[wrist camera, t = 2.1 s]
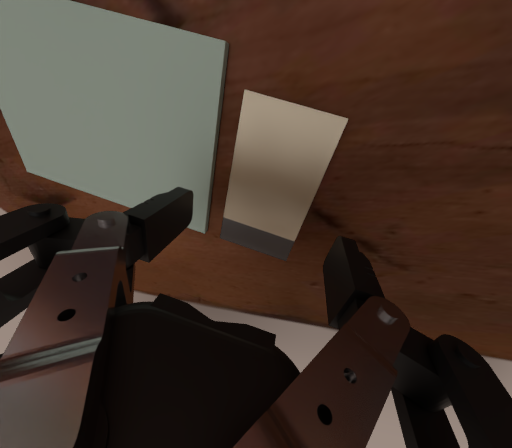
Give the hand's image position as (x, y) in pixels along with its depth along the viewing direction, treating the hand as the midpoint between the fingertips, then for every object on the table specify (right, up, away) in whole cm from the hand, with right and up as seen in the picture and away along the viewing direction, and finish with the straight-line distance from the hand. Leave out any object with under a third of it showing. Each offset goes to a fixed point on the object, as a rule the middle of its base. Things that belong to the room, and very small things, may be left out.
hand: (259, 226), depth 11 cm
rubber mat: (-13, +8, +6) cm, 16 cm away
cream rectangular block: (+1, +4, +4) cm, 6 cm away
